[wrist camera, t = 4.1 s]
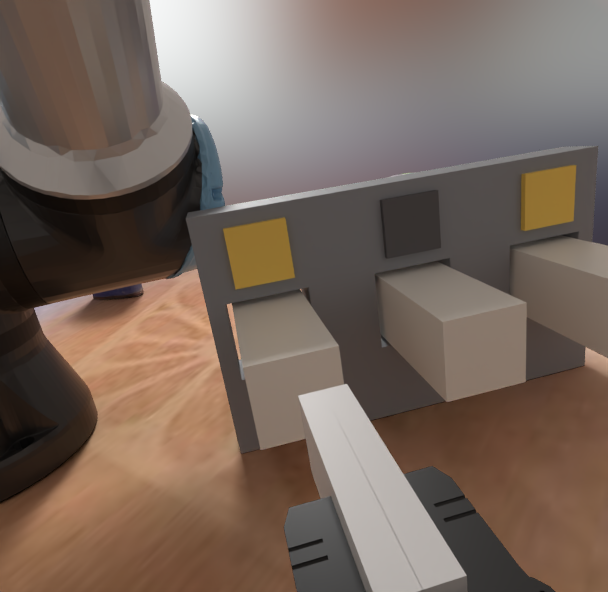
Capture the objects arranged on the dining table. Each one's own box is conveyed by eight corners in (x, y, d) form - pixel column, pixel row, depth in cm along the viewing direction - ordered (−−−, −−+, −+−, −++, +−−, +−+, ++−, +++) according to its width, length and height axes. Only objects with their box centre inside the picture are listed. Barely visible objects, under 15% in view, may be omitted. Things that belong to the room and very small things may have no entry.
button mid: (446, 402, 22) (442, 321, 21) (373, 327, 32) (367, 268, 31) (525, 382, 23) (526, 302, 22) (430, 314, 33) (427, 257, 31)
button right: (611, 359, 24) (617, 281, 22) (493, 300, 34) (493, 243, 32) (681, 341, 24) (692, 264, 23) (545, 288, 34) (547, 232, 33)
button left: (260, 450, 21) (242, 367, 20) (243, 356, 31) (231, 297, 29) (350, 427, 22) (338, 345, 20) (305, 342, 32) (295, 283, 30)
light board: (241, 457, 30) (185, 219, 25) (234, 394, 38) (190, 204, 32) (588, 367, 34) (603, 145, 28) (516, 327, 42) (517, 148, 36)
